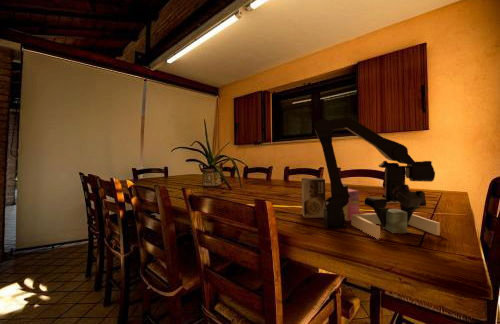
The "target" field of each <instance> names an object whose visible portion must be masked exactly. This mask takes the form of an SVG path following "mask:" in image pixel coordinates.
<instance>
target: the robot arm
mask: <svg viewBox="0 0 500 324" xmlns="http://www.w3.org/2000/svg"><path fill="white" fill-rule="evenodd" d="M341 130H348V131H349V132H350V133H352V134H353V135H355V136H357V137H358V138H360V139H362V140H363V141H365V142H367V143H368V144H370V145H371V146H372V147H374V148H375V149H376V150H377V151H378V152H379V153H380V154H381V156H383V157H384V158H385V159H386V160H383V161H382V163H380V164H378V167H379V168H381V169H384V171H385V172H384V173H385V177H384V181H385V182H383V183H382V186H383V187H384V189H385V190H384V194H382V197H379V196H366V197H365V199H364V205H365V206H367V207H370V208H372V210H374V213H376V214H377V216H378V218H379V220H380V222H381V224H380V225H381V226H382V228H383V227H385V226H386V212H387V211H388V210H389V209H390V208H387V205H399V207H400V210H402V211H405V212H407V225H408V222H409V220H410V218H411V216H412V214H413V213H414V212H416V211H417V210H419V209H421V208H422V207H426V206H427V200H426V193H425V192H424V191H422V190H416V191H411V190H410V187H409V184H407V183H406V179H409V181H410V182H424V183H425V182H428V183H429V182H433V181H434V180H435V177H436V172H435V168H434V166H433V165H432V164H433V163H432V160H431V161H430V160H422V161H415V160H414V159H413V157H411V155H410V154H409V150H408V147H407V146H406V145H404V144H402V143H400V142H397V141H395V140H392V139H389V138H386V137H383V136H382V135H380V134H378V133H376V132H375V131H374V130H372V129H370V128H368V127H367V126H365V125H363V124H362V123H360V122H359V121H357V120H355V119H354V118H353V117H352V116H345V117H340V118H333V119H327V118H326V119H325V118H320V119H318V120H317V121H316V122H315V124H314V131H315V134H316V136H317V138H318V140H319V143H320V145H321V148H322V152H323V156H324V161H325V164H326V169H327V174H328V178H329V187H330V188H329V189H330V196H329V197H328V198H327V199H325V207H326V208H324V218H323V221H322V222H321V224H322V225H323V226H325V227H326V228H327V229H329V230H330V229H346V228H347V226H346V225H345V223H346V220H345V214H344V210H343V207H345V206H346V205H347V204H348V202H349V198H348V197H350V195H349V193H348V189H349V187H348V184H347V183H343V182H342V180H341V177H340V171H339V167H338V163H337V158H336V154H335V151H334V146H333V133H332V132H335V131H341ZM387 160H388V161H391V162H388V161H387ZM392 161H393V162H392ZM400 164H403V165H400Z"/></svg>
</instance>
